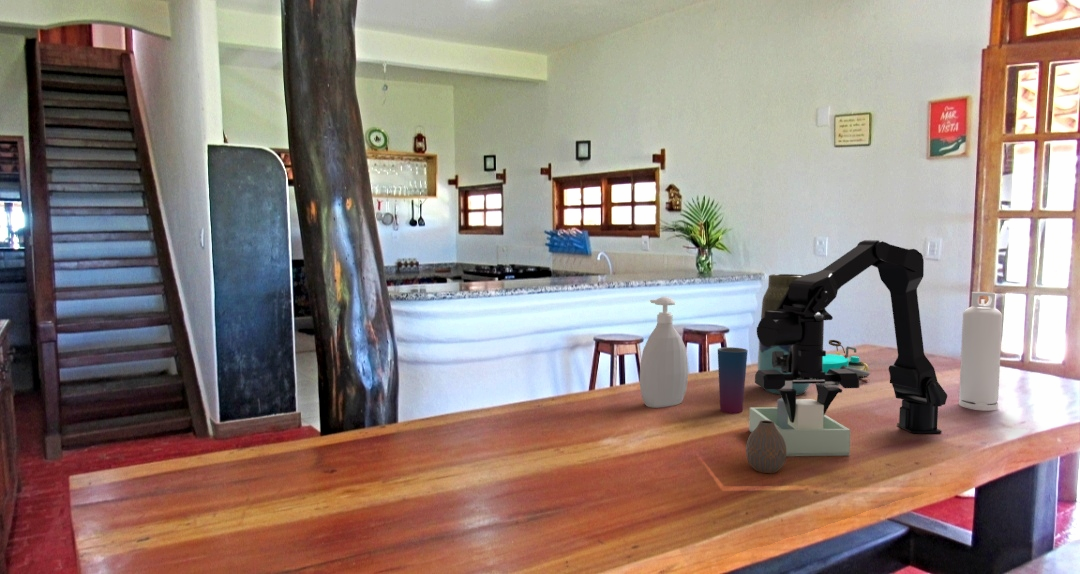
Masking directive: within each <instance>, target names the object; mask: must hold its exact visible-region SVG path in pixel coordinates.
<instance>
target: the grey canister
mask: <svg viewBox="0 0 1080 574" xmlns="http://www.w3.org/2000/svg"><path fill="white" fill-rule="evenodd" d="M776 400H777V402H776V403H777V404H776V405H777V406H776V407H777V426H779V427H780V428H781V429H794V428H793V427H791V426H790V425H789V424H788V413H787V410H786V407H785V404H784V401H783V399H782V397H781V398H777V399H776Z"/></svg>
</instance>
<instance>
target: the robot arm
mask: <svg viewBox="0 0 1080 574" xmlns="http://www.w3.org/2000/svg"><path fill="white" fill-rule="evenodd" d="M870 267H874V268H877V271H878V273H879V277H880V278H879V279H880V281H881V282H882V283H883V284H884V286H885V287H886V288H887V290H888V291H889V294H890V302H891V308H892V310H891V311H892V316H893V325H894V332H895V334H894V335H895V341H896V350H897V358H896V360H895V361H894V363H893V364H891V365H889V366H888V373H889V383H890V384H891V386H892V388H893V391H894V395H895V396H894V397H895V398H896V399H899V400H901V406H900V407H899V413H898V414H899V416H898V417H899V418H898V422H897V423H896V426H898V427H900V428H901V429H903V430H904V431H907V432H909V433H911V434H942V431H943V430H941V429H939V428H938V423H939V422H938V419H939V417H938V416H939V408H940V407H942V406H943V405H946V403H947V398H948V394H947V392H946V391H945V390H944V388H943V387H942V385H941V384H940V383H939V381H938V378H937V373H936V371H935V367H934V365H933V364H932V363H931V362H930V360H929V359H928V357H927V356H926V355H925V350H924V341H923V340H924V339H923V332H922V325H921V315H920V307H919V297H918V287H919V285H920V284H921V282H922V280H923V278H924V275H925V274H924V269H925V268H924V256H923V254H922V252H920V251H919V250H918V249H915V248H905V247H900V246H897V245H894V244H890V243H888V242H885V241H883V240H882V239H880V240H879V239H878V240H875V239H873V240H872V239H865V240H861V241H859V243H857V245H855V247H853V248H852V249H851V250H849V251H848V252H846V253H845V254H843V255H842V256H840V257H839V258H838V259H836V260H834V261H833V262H832V263H830V264H829V265H827V266H826V267H825V268H823V269H821V270H819V271H816V272H812V273H808V274H805V275H804V274H803V275H804V276H802V277H800V278H797V279H795V280H793V281H792V282H791V283H790V285H789V289H788V291H787V292H786V294H785V296H784V297H783V299H782V301H781V303H780V304H779V306H778V308H777V309H776V311H765V317H764V318H763V319H761V318H760V320H759V322H758V325H757V327H756V336H757V339H758V342H759V341H760V343H761V344H762V345H763V346H765V347H774V346H786V345H792V346H790V348H789V354H788V355H784V352H783V351H774V352H772V366H773V367H774V368H781V372H782V373H788V372H791V374H782V373H781V372H779V371H777V370H758V369H757V371H756V373H755V376H754V384H756V385H758V386H759V387H760V388H762V389H763V390H765V389H775V390H777V391H778V392H779V393H780V394H779V395H780V397H781V398H782V399H783V401H784V404H785V407H786V410H787V413H788V416H789V419H790V422H792V423H794V419H795V410H796V399H797V395H796V390H794V389H792V384H804V383H811V384H815V388H816V392H817V394H816V395H817V397H816V401H817V402H819V403H821V404H823V405H824V415H826V413H827V411H828V409H829V407H830V405H831V404H832V402H833V401H834V399H835V398H836V397H837V395H838V394H839V393H840V394H842V393H843V389H859V388H860V383H861V381H860V380H861V378H859V376H858V375H857V374H856V373H854V372H852V371H850V370H847V369H829V370H828V372H827V374H825V372H824V371H822V368H823V356H826V355H827V351H826V350H824V333H825V331H824V330H825V329H824V325H825V321H832V320H833V316H832V315H831V313H829V312H828V311H827V309H826V308H827V307H828V306H829V305H831V303H832V302H833V301H834V300H835V299H836V298H837V296H838V291H839V290H840V289H841V288H842V287H843V286H844V285H846V284H847V283H849V282H850V281H851V280H853V279H855V278H856V277H858V275H860V274H862V272H864V271H866V270H867V269H868V268H870ZM811 378H812V379H811ZM840 386H841V387H842V388H843V389H842V388H840Z"/></svg>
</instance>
